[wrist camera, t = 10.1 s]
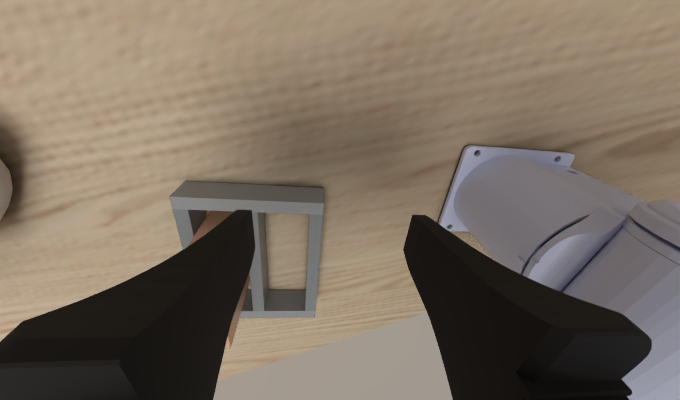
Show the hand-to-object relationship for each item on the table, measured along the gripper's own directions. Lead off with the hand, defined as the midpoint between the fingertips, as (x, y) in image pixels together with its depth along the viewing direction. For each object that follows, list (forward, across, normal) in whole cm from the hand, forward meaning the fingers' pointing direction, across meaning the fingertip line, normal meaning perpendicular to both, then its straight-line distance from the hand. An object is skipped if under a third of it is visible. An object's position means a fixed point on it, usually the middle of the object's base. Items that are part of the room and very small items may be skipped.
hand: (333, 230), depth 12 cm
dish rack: (+9, +6, +9) cm, 14 cm away
